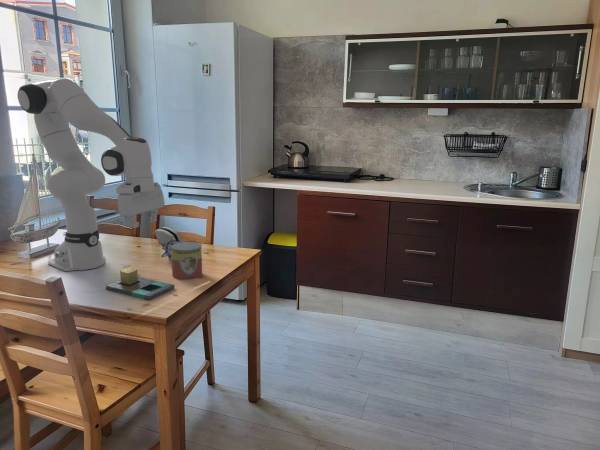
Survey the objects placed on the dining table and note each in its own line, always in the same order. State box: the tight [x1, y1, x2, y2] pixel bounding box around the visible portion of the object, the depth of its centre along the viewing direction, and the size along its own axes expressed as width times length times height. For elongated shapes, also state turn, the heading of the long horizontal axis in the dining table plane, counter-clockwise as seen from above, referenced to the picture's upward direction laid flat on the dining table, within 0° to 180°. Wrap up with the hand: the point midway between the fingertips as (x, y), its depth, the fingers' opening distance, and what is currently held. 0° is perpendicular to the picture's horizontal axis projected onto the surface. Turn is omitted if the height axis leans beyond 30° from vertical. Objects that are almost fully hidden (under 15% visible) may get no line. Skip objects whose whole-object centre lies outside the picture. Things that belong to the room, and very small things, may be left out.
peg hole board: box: [105, 276, 175, 302], centre depth 161 cm, size 20×12×2 cm, turn 63°
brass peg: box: [119, 267, 139, 286], centre depth 162 cm, size 4×4×6 cm
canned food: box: [171, 241, 203, 281], centre depth 175 cm, size 11×11×12 cm
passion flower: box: [160, 237, 185, 263], centre depth 195 cm, size 11×11×12 cm
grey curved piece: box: [154, 226, 182, 246], centre depth 216 cm, size 17×5×10 cm, turn 48°
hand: (145, 224), depth 161 cm, fingers open, 8 cm apart
